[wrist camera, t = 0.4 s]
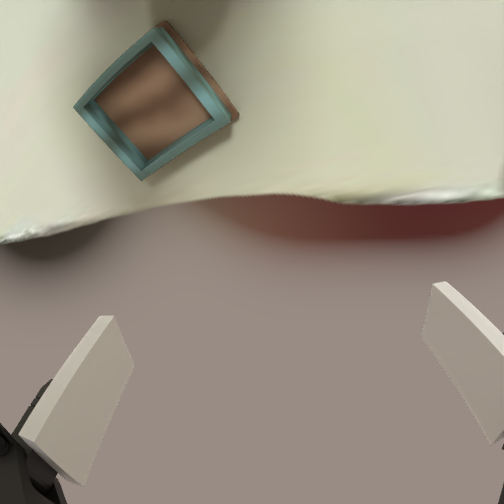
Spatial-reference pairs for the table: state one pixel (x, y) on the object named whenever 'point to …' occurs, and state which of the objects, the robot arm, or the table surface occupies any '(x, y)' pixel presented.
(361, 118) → the table surface
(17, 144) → the table surface
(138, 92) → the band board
